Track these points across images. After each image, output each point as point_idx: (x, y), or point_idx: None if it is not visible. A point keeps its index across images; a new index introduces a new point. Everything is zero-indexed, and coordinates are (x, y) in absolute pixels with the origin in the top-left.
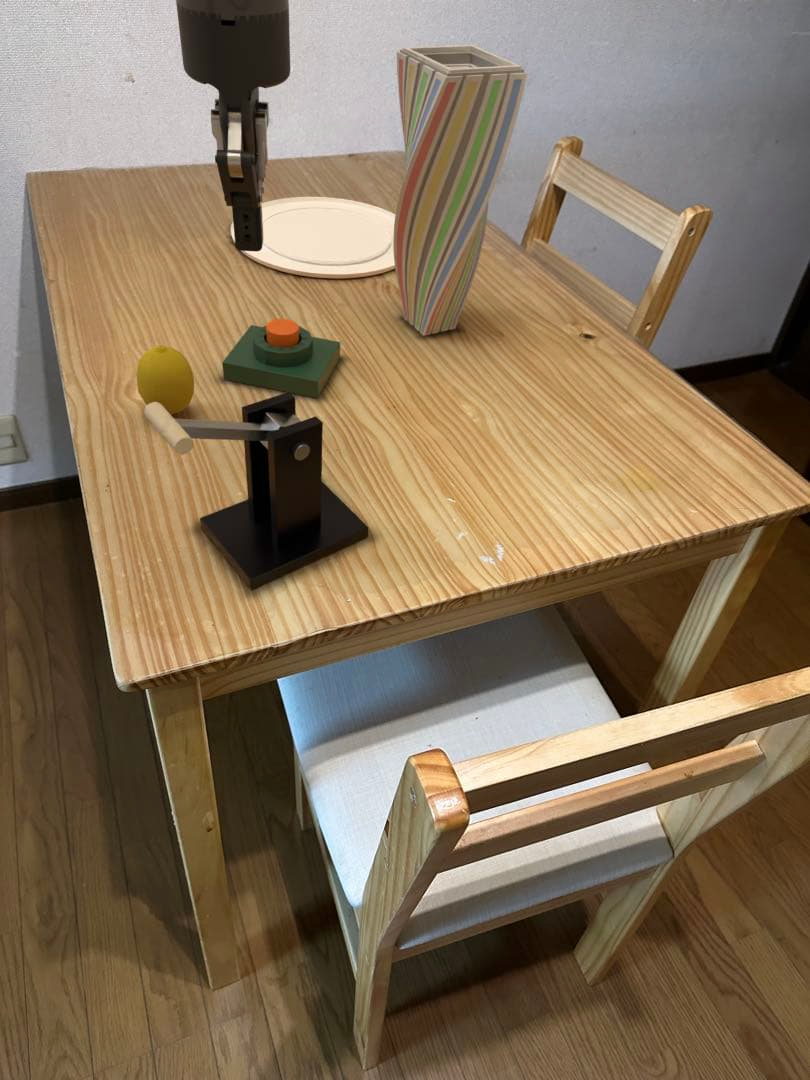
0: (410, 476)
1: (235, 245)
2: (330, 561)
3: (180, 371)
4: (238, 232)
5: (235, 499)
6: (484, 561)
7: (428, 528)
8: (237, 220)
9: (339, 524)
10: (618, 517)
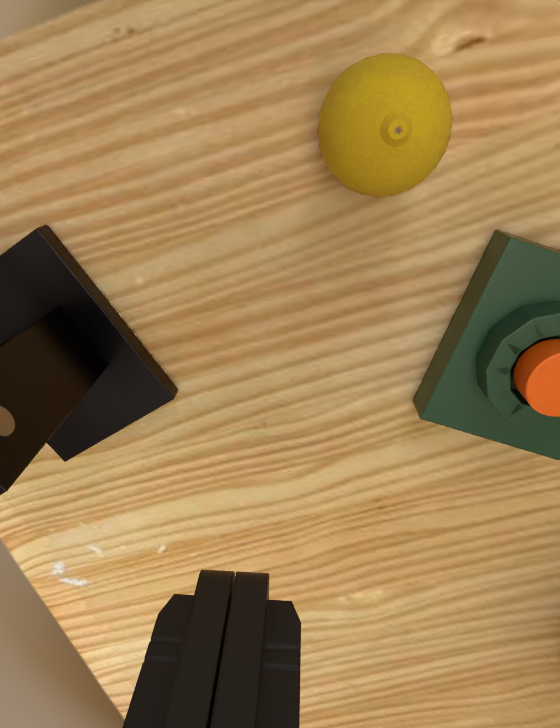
0: (206, 510)
1: (199, 575)
2: None
3: (350, 178)
4: (150, 647)
5: (124, 274)
6: (54, 565)
7: (102, 518)
8: (133, 698)
9: (63, 427)
10: None
